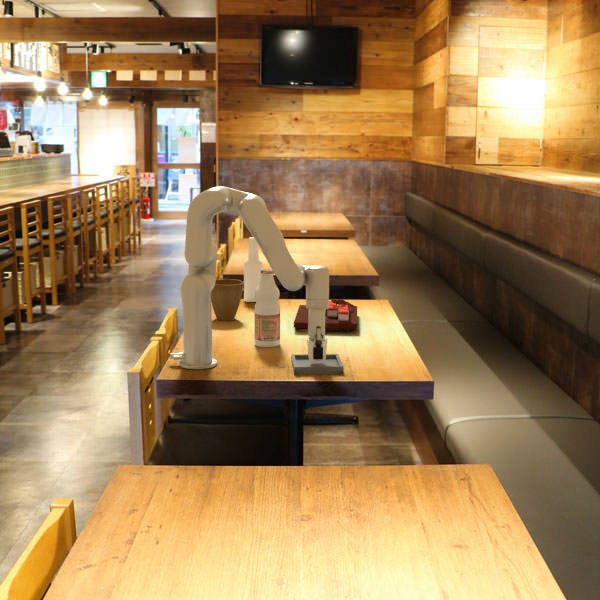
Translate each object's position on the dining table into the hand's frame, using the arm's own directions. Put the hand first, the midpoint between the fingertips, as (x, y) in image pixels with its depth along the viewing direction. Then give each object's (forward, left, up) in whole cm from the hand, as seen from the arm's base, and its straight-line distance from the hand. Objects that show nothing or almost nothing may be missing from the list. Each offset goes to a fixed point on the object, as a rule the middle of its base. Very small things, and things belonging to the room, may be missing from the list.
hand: (317, 355), depth 276 cm
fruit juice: (-16, +32, -4) cm, 36 cm away
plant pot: (-32, +77, -4) cm, 83 cm away
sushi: (+10, +67, -5) cm, 67 cm away
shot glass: (0, 0, -1) cm, 1 cm away
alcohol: (-20, +115, -4) cm, 117 cm away
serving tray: (0, 0, -4) cm, 4 cm away
